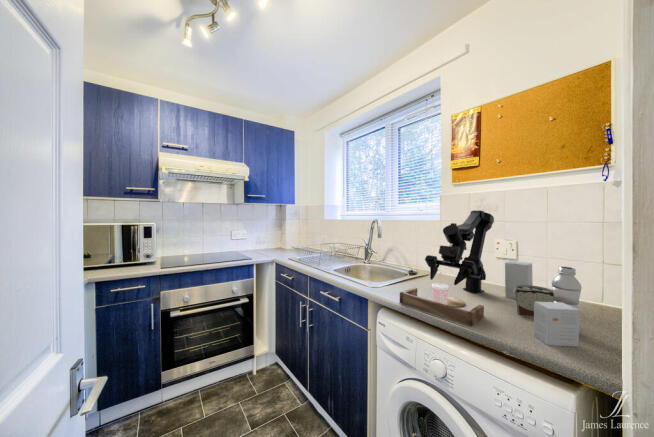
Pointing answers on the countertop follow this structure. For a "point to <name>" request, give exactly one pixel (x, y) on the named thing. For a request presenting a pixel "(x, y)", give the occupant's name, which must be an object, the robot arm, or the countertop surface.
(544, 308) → the small box
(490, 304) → the countertop surface
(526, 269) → the skincare box
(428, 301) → the walnut bay
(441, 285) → the beverage cup
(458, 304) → the cork coaster
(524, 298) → the food container
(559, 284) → the plastic bottle
